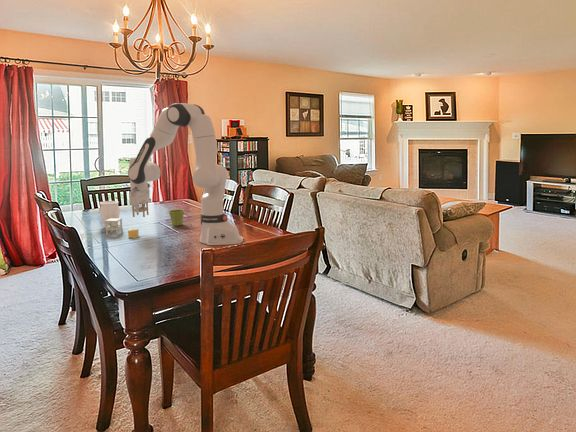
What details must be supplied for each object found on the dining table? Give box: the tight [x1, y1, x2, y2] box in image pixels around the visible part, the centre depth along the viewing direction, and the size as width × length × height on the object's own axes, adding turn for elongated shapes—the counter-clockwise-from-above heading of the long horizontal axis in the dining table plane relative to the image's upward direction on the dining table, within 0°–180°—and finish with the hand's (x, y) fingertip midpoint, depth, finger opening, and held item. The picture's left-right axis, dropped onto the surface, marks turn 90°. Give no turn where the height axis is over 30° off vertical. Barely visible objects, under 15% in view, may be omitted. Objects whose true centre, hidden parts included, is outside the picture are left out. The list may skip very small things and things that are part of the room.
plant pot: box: [168, 209, 185, 227], centre depth 258 cm, size 9×9×9 cm
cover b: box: [105, 217, 124, 236], centre depth 236 cm, size 6×6×8 cm
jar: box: [99, 200, 120, 229], centre depth 253 cm, size 11×10×15 cm
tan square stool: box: [131, 200, 149, 218], centre depth 237 cm, size 6×6×8 cm
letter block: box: [127, 228, 140, 239], centre depth 230 cm, size 4×4×4 cm
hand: (140, 211), depth 238 cm, fingers closed on tan square stool, 6 cm apart
